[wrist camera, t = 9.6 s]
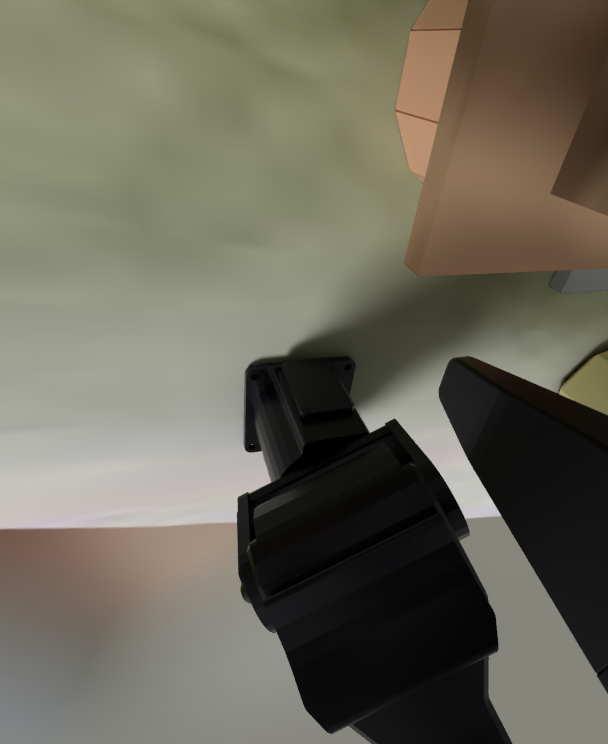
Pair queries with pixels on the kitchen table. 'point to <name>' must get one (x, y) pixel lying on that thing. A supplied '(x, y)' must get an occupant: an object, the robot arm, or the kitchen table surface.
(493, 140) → the walnut cover
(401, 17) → the kitchen table surface
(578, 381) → the jar
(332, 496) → the robot arm
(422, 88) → the terracotta bowl
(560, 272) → the charcoal mat
